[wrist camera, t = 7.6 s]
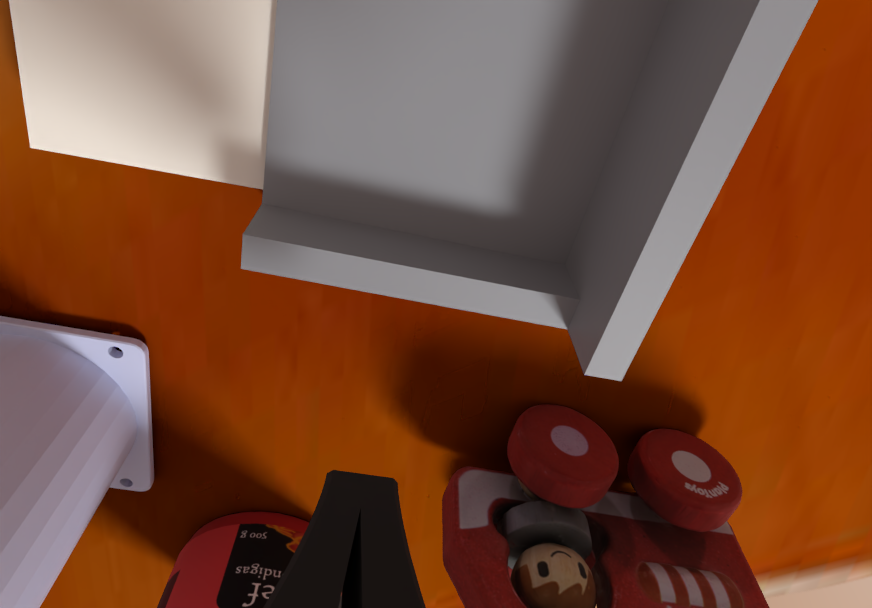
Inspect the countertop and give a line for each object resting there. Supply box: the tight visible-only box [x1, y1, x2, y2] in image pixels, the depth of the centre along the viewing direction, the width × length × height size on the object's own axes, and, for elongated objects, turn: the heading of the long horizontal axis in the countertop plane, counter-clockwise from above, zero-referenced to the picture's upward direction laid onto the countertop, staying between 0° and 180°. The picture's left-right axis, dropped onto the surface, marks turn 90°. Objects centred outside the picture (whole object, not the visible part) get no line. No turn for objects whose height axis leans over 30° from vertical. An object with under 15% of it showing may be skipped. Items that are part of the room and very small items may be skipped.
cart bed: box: [241, 0, 818, 381], centre depth 13 cm, size 10×12×6 cm
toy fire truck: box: [442, 404, 769, 608], centre depth 21 cm, size 7×12×10 cm, turn 75°
